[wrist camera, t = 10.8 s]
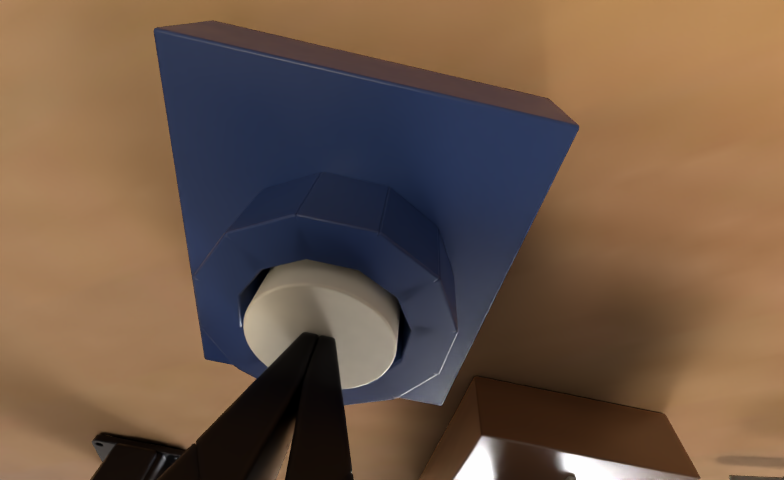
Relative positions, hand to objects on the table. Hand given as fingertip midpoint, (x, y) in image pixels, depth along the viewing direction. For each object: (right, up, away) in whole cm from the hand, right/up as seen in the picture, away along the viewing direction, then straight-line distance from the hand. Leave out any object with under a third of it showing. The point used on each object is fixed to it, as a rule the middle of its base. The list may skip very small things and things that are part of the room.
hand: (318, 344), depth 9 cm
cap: (0, +1, +2) cm, 2 cm away
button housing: (+1, +3, +4) cm, 6 cm away
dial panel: (+10, -10, +12) cm, 19 cm away
